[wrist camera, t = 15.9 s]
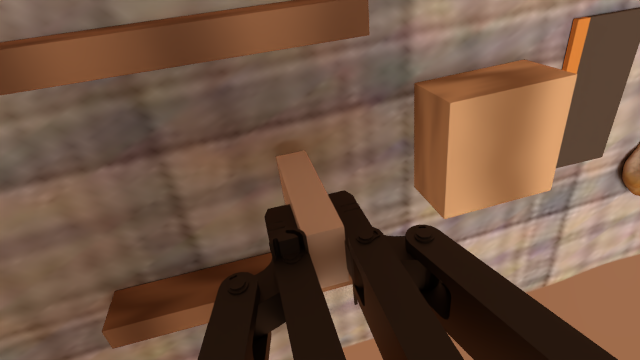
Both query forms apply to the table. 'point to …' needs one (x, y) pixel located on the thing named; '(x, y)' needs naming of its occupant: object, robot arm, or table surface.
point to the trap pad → (597, 80)
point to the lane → (165, 52)
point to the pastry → (632, 172)
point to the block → (489, 134)
